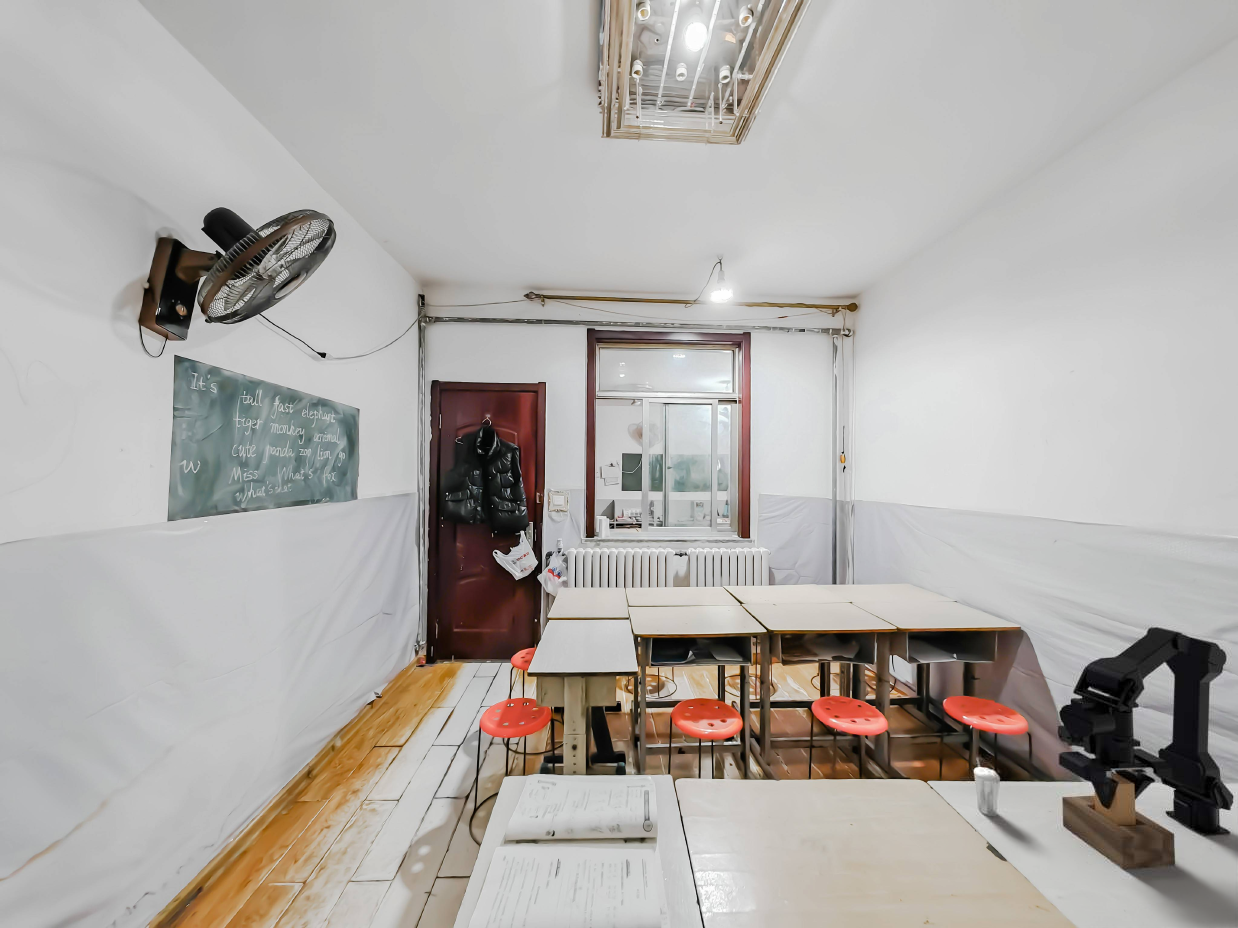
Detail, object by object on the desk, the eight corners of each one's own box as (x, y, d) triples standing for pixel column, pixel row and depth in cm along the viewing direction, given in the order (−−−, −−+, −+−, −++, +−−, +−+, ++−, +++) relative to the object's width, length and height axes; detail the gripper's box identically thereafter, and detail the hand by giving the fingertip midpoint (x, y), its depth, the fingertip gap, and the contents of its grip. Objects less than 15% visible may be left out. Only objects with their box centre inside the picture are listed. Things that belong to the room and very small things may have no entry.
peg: (1112, 810, 96) (1111, 770, 97) (1135, 824, 92) (1134, 783, 93) (1095, 811, 96) (1093, 771, 96) (1117, 825, 92) (1115, 784, 92)
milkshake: (988, 802, 106) (987, 758, 106) (1005, 819, 101) (1004, 772, 101) (967, 801, 106) (966, 756, 107) (983, 817, 101) (982, 771, 101)
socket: (1110, 822, 100) (1109, 794, 100) (1175, 865, 89) (1174, 833, 89) (1063, 825, 99) (1062, 796, 99) (1122, 868, 88) (1121, 836, 88)
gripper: (1109, 707, 103) (1112, 779, 103) (1032, 710, 102) (1034, 782, 101) (1173, 735, 92) (1176, 815, 92) (1087, 739, 91) (1089, 820, 90)
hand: (1115, 806), depth 94 cm, fingers closed on peg, 4 cm apart
